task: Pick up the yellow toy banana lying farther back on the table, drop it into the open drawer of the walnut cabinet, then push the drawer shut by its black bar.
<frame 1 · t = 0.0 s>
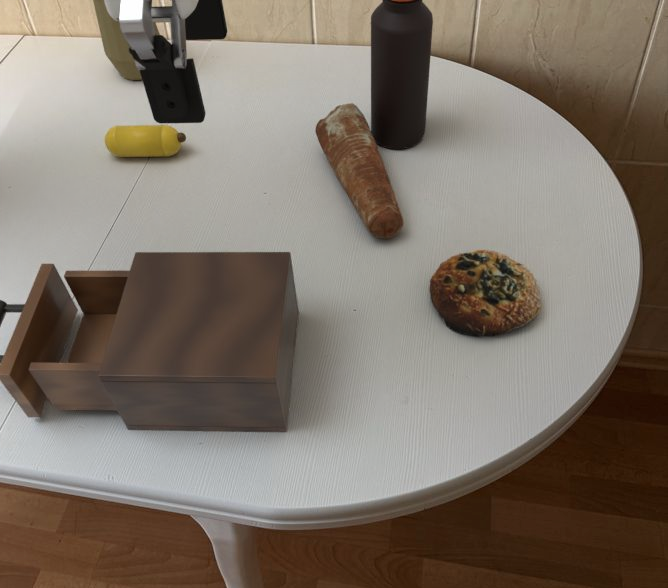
hand: (194, 76, 47), 28 cm above the table, tool pointing down, fingers open, 9 cm apart
bread: (367, 190, 82), on the table
drawer: (79, 339, 65), point 4 cm above the table, slide at 8.0 cm
cabinet: (217, 367, 68), on the table
squeeze bottle: (140, 71, 100), on the table
vinegar: (397, 135, 88), on the table
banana: (147, 153, 88), on the table
bread roll: (483, 299, 71), on the table
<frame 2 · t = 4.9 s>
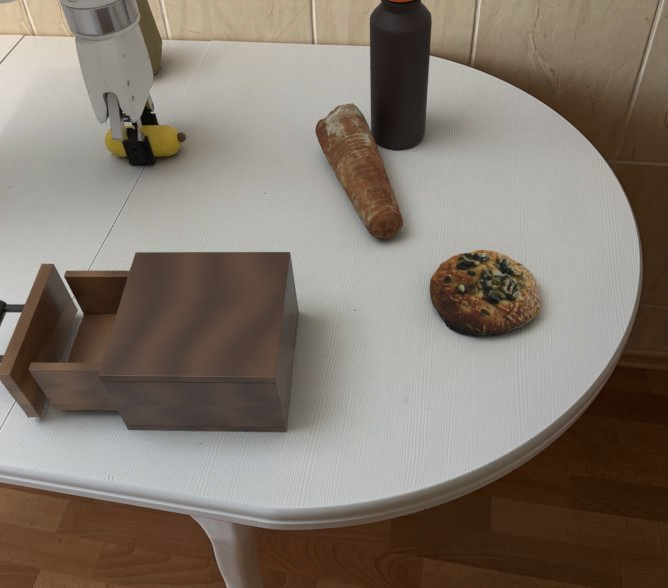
hand: (146, 151, 88), 0 cm above the table, tool pointing down, fingers closed on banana, 3 cm apart
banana: (147, 153, 88), on the table, touching gripper
everything else where it was.
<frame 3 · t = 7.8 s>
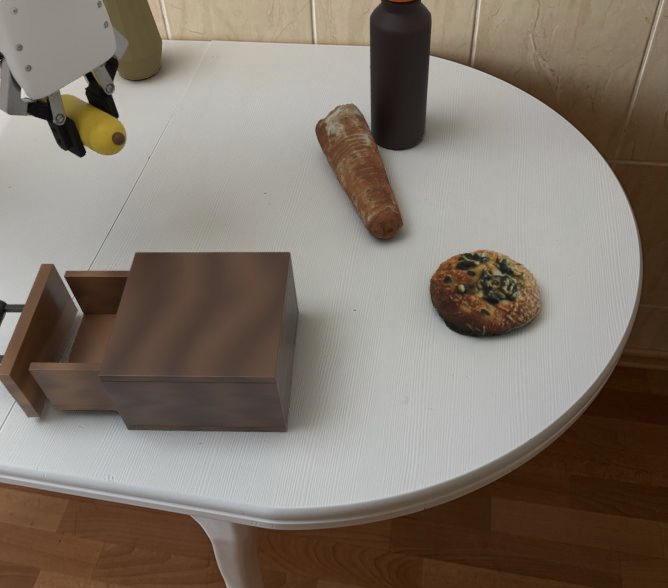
hand: (91, 138, 69), 13 cm above the table, tool pointing down, fingers closed on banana, 3 cm apart
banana: (93, 140, 69), point 13 cm above the table, touching gripper
everything else where it was.
when the fingers open (9 cm above the table, at t = 10.9 s): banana drops 6 cm, resting on drawer.
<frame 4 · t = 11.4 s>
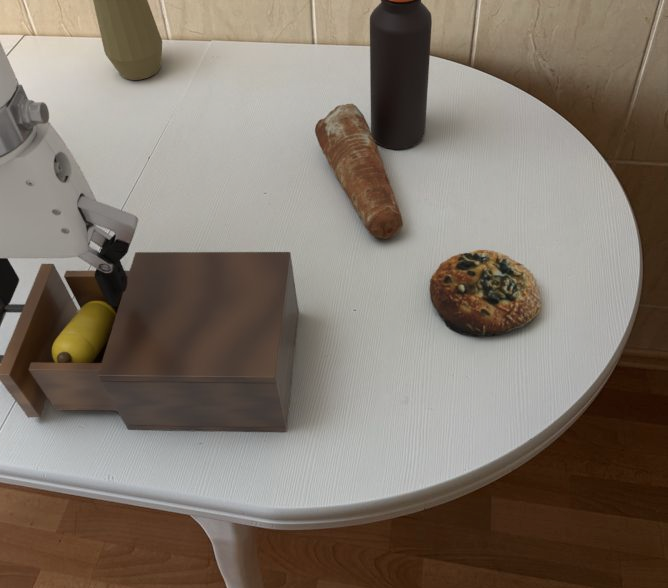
hand: (63, 293, 60), 11 cm above the table, tool pointing down, fingers open, 9 cm apart
drawer: (79, 339, 65), point 4 cm above the table, slide at 8.0 cm, touching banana
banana: (90, 352, 66), point 3 cm above the table, tilted 22°, touching drawer
everything else where it was.
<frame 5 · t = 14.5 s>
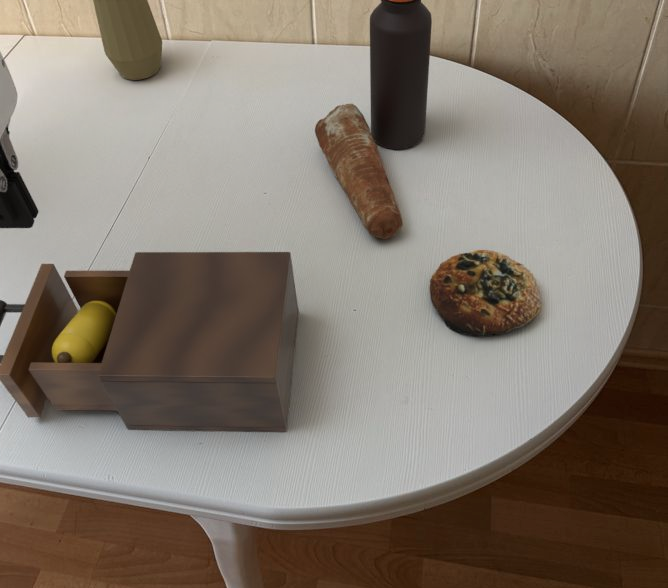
hand: (16, 220, 53), 19 cm above the table, tool pointing down, fingers closed
nothing on the table moved.
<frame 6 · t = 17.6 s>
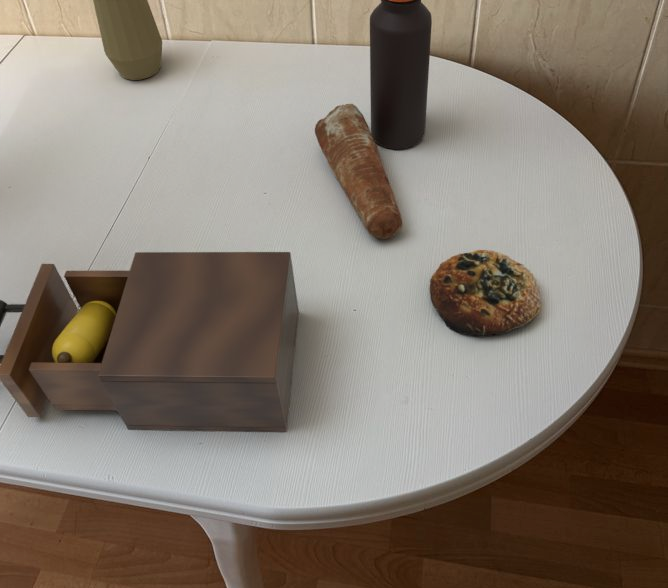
drawer: (79, 339, 65), point 4 cm above the table, slide at 8.0 cm, touching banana, gripper
everything else where it was.
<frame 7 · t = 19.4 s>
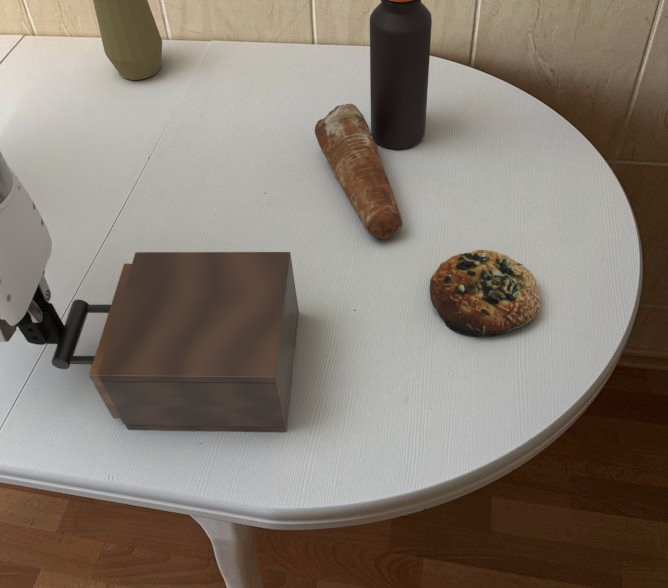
hand: (47, 336, 65), 5 cm above the table, tool pointing down, fingers closed
drawer: (163, 339, 65), point 4 cm above the table, slide at 0.0 cm, touching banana, cabinet, gripper
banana: (174, 352, 65), point 3 cm above the table, tilted 21°, touching drawer
everything else where it was.
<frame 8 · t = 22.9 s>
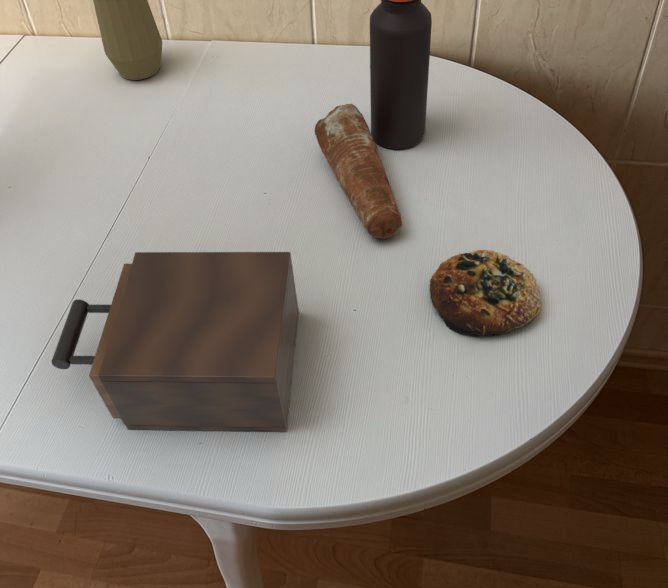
drawer: (163, 339, 65), point 4 cm above the table, slide at 0.0 cm, touching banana, cabinet
everything else where it was.
at the end: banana inside the target area in the cabinet (3.5 cm from its centre), point 3.2 cm above the cabinet's base; drawer slide at 0.0 cm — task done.
